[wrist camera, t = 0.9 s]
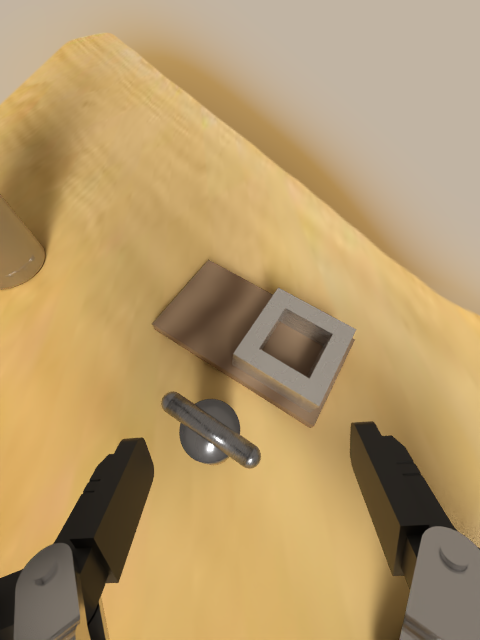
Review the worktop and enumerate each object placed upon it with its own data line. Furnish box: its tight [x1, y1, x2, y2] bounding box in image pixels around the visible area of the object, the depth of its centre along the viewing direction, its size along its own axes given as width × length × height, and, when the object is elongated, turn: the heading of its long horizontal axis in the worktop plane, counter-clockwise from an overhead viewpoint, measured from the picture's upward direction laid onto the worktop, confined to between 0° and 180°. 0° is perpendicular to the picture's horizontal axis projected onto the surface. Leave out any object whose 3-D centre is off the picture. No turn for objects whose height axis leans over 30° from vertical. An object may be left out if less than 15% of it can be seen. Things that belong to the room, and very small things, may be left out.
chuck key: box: [161, 392, 261, 469], centre depth 24 cm, size 7×4×14 cm, turn 58°
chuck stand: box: [152, 260, 356, 428], centre depth 34 cm, size 22×12×5 cm, turn 58°
